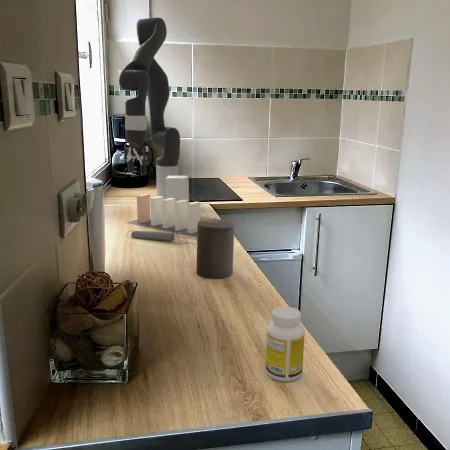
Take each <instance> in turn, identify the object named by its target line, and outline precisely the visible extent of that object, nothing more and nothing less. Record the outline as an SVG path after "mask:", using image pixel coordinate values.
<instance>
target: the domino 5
mask: <svg viewBox="0 0 450 450" xmlns="http://www.w3.org/2000/svg"><path fill="white" fill-rule="evenodd" d="M200 220H201V201H193V202H189V204H187V231H188V230H190V232H187V233H194V232H197V231H194V230H193V229H196V230H197V226H198V221H200Z"/></svg>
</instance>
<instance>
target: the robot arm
mask: <svg viewBox="0 0 450 450" xmlns="http://www.w3.org/2000/svg"><path fill="white" fill-rule="evenodd" d="M166 25H167V24H166V21H164V19H163V18H162V17H158V16H157V17H146V18H139V19H138V20H137V21H136V24H135V31H136V38H137V42H138V47H137V49H136V50H135V51H134V52H133V55H132V57H131V60H130V62H128V64H127V63H126V65H125V66H124V67H123V68H122V70H121V71H120V73H119V76H118V85H119V86H120V88H121V89H122V90H123V91H125V92H137V94H136V96H135V97H129V98H126V99H125V101H124V105H125V106H124V107H125V119H124V126H125V127H124V128H125V129H124V131H125V142H126V143H124V144H123V159H124V160H125V161H126V162H127V171H128V173H134V172H135V159H137V160H138V161H139V163H140V166H139V167H140V175H141V176H147V174H148V164H151V162H152V160H151V159H152V158H151V147H150V146H149V145H147V146H145V143H147V141H148V129H147V114H146V113H147V112H146V103H147V102H146V101H148V109H149V110H148V111H149V119H150V137H151V141H152V144H153V146H154V147H155V148H157V149H161V150H163V151H164V152H163V155H162V156H160V157H157V158H156V160H155V167H156V168H155V169H156V173H155V175H156V176H155V179H156V197H157V196H163V200H164V199H166V181H165V178H167V177H168V176H179V160H180V152H181V136H180V132H179V130H178V129H177V128H176V127H173V126H172V127H171V126H166V125H165V118H164V115H165V110H166V106H168V105H167V104H168V102H169V99H170V95H171V94H170V92H171V91H170V86H169V78H168V75H167V74H166V71H165V70H164V69H163V68H162V66H161V65H160V64H159V63H158V61H157V59H155V56H156V55H157V53H158V51H159V50H160V49H161V48H162V46H163V44H164V42H165V41H166V38H167V33H168V31H167V26H166Z"/></svg>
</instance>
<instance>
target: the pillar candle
mask: <svg viewBox="0 0 450 450" xmlns="http://www.w3.org/2000/svg"><path fill="white" fill-rule="evenodd" d="M234 239H235V222H233V221H231V220H228V219H223V218H216V217H214V218H205V219H204V218H203V219H200V221H198V226H197V237H196V274H197V275H198V276H200V277H203V278H205V279H209V278H220V279H224V278H223V277H226V278H228V277H227V276H229V277H231V276H232V275H233V273H234V272H233V270H234V269H233V268H234V248H235V247H234V246H235V245H234V244H235V241H234ZM231 274H232V275H231ZM230 275H231V276H230Z"/></svg>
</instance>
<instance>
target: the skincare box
mask: <svg viewBox="0 0 450 450" xmlns="http://www.w3.org/2000/svg"><path fill="white" fill-rule="evenodd" d="M165 181H166V199H168V198H175V202H176V201H180V200H188V204H189V203H190V194H189V193H190V191H189V189H190V188H189V186H190V185H189V175H178V176H168V177H167V178H165Z"/></svg>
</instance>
